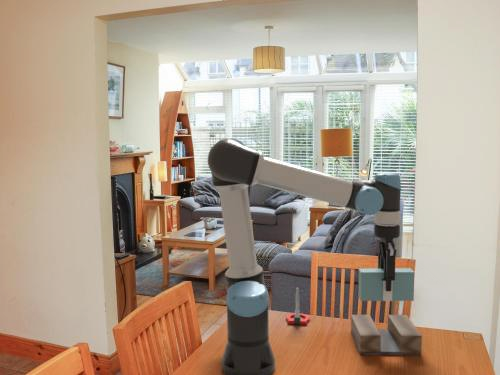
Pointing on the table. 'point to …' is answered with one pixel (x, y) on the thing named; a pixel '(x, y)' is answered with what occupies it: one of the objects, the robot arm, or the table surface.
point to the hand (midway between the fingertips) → (385, 297)
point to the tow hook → (297, 314)
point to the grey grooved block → (386, 336)
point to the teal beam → (374, 285)
